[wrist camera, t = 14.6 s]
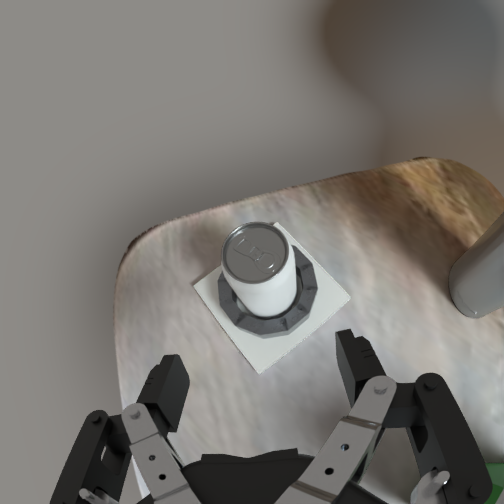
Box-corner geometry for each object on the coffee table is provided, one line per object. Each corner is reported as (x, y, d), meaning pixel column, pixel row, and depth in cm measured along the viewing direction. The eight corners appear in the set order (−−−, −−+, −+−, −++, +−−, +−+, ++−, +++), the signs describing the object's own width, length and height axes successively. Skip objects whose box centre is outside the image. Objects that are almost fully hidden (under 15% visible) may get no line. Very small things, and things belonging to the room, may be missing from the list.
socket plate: (277, 225, 39) (277, 221, 38) (349, 299, 33) (351, 297, 32) (195, 288, 37) (193, 285, 36) (260, 374, 31) (258, 374, 30)
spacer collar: (275, 235, 37) (273, 223, 34) (333, 296, 32) (337, 288, 29) (208, 287, 35) (200, 279, 33) (261, 356, 30) (257, 354, 28)
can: (275, 331, 32) (261, 305, 21) (232, 299, 34) (200, 260, 23) (307, 287, 33) (309, 241, 22) (265, 259, 36) (248, 205, 25)
